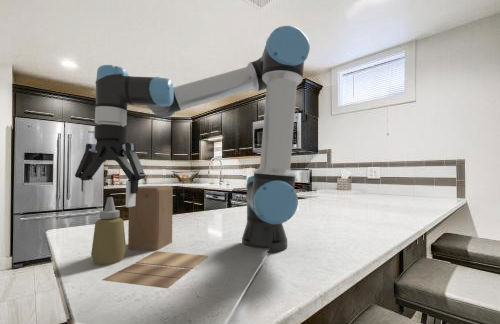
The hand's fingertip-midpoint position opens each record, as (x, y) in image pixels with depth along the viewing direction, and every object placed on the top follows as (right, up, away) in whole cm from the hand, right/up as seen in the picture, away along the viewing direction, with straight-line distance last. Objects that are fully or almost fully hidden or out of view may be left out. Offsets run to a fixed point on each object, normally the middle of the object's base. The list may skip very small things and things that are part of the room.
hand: (108, 205), depth 68 cm
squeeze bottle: (0, -16, -1) cm, 16 cm away
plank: (+17, -16, 0) cm, 23 cm away
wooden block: (+6, -17, +14) cm, 22 cm away
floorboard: (+14, -15, -10) cm, 23 cm away
